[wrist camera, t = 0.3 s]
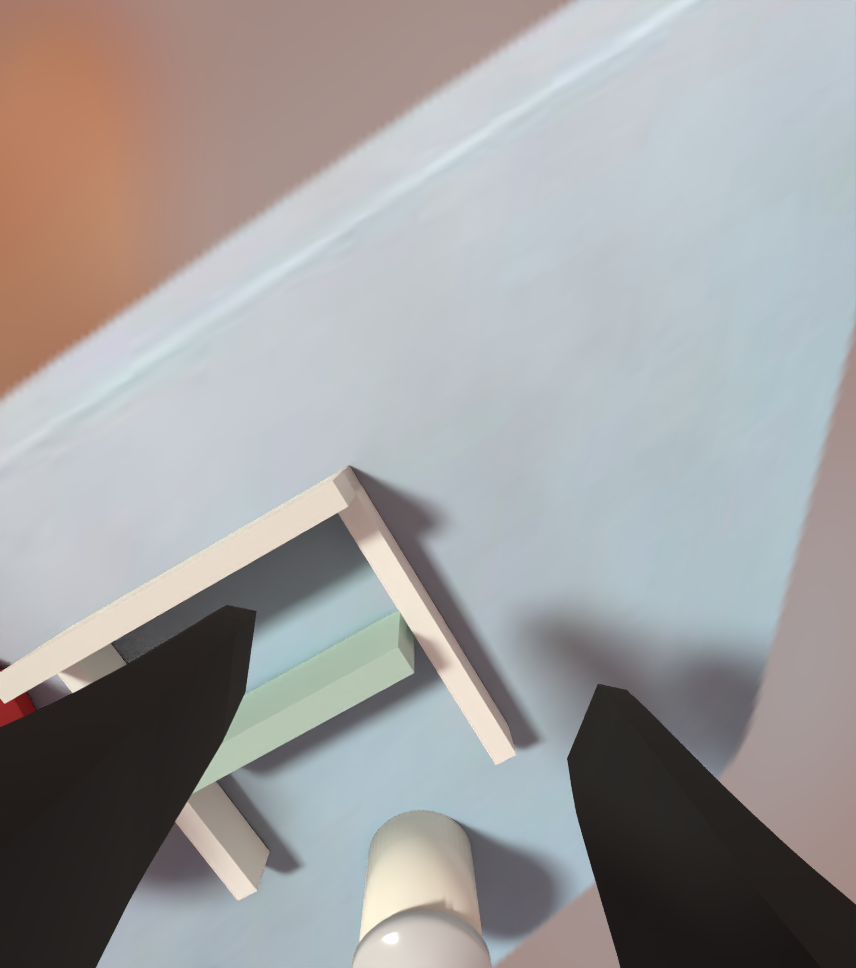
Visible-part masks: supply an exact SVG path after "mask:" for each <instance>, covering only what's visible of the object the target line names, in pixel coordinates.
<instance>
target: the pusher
mask: <svg viewBox="0 0 856 968" xmlns="http://www.w3.org/2000/svg"><path fill="white" fill-rule="evenodd" d="M413 673H414V634H413V632H412V631H411V629H410V627H409V626H408V624H407V623H406V621H405V619H404V618H403V616H402V615H401V613H400V611H399V610H397V611H395V612H393V613H391V614H390V615H388V616H386V617H384V618H382V619H381V620H379V621H377V622H375V623H373V624H372V625H370V626H368V627H366V628H364V629H363V630H361V631H359V632H357V633H355V634H354V635H352V636H350V637H348V638H346V639H345V640H343V641H341V642H339V643H337V644H336V645H334V646H332V647H330V648H328V649H327V650H325V651H323V652H321V653H319V654H318V655H316V656H314V657H312V658H310V659H309V660H307V661H305V662H303V663H301V664H300V665H298V666H296V667H294V668H292V669H291V670H289V671H287V672H285V673H283V674H282V675H280V676H278V677H276V678H274V679H272V680H271V681H269V682H267V683H265V684H263V685H262V686H260V687H258V688H256V689H254V690H253V691H251V692H249V693H247V694H245V695H244V696H243V699H242V701H241V703H240V705H239V708H238V710H237V712H236V714H235V717H234V719H233V721H232V723H231V725H230V727H229V729H228V732H227V734H226V736H225V738H224V740H223V742H222V744H221V746H220V747H219V749H218V751H217V752H216V754H215V756H214V758H213V759H212V761H211V763H210V764H209V766H208V768H207V769H206V771H205V773H204V774H203V776H202V778H201V780H200V781H199V783H198V785H197V786H196V788H195V790H194V791H193V793H195V792H197V791H198V790H200V789H202V788H204V787H206V786H208V785H209V784H211V783H213V782H215V781H217V780H219V779H220V778H222V777H224V776H226V775H228V774H230V773H231V772H233V771H235V770H237V769H239V768H241V767H242V766H244V765H246V764H248V763H250V762H252V761H253V760H255V759H257V758H259V757H261V756H263V755H264V754H266V753H268V752H270V751H272V750H274V749H276V748H277V747H279V746H281V745H283V744H285V743H287V742H288V741H290V740H292V739H294V738H296V737H298V736H299V735H301V734H303V733H305V732H307V731H309V730H310V729H312V728H314V727H316V726H318V725H320V724H321V723H323V722H325V721H327V720H329V719H331V718H332V717H334V716H336V715H338V714H340V713H342V712H343V711H345V710H347V709H349V708H351V707H353V706H354V705H356V704H358V703H360V702H362V701H364V700H365V699H367V698H369V697H371V696H373V695H375V694H376V693H378V692H380V691H382V690H384V689H386V688H387V687H389V686H391V685H393V684H395V683H397V682H398V681H400V680H402V679H404V678H406V677H408V676H410V675H411V674H413ZM193 793H192V794H193Z"/></svg>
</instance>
